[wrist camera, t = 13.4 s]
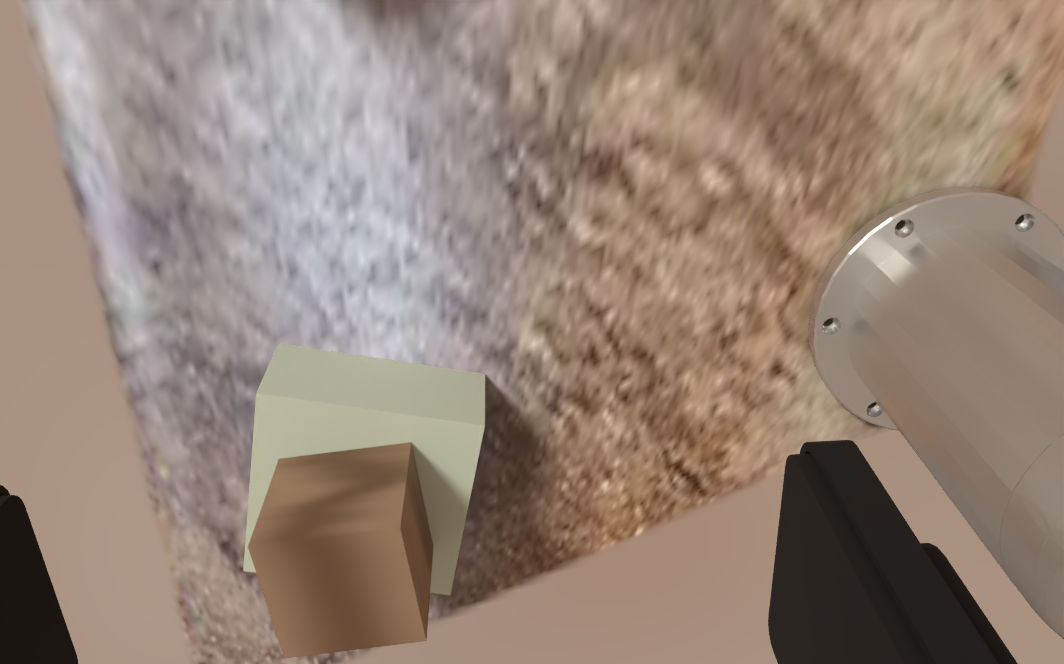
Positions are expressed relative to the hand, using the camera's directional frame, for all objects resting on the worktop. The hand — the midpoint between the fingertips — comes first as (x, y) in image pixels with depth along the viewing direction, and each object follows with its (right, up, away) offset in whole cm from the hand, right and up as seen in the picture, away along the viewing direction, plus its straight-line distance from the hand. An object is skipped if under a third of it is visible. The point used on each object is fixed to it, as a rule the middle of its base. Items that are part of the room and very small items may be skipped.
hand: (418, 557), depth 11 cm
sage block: (-7, -3, +35) cm, 36 cm away
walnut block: (-7, -5, +31) cm, 32 cm away
